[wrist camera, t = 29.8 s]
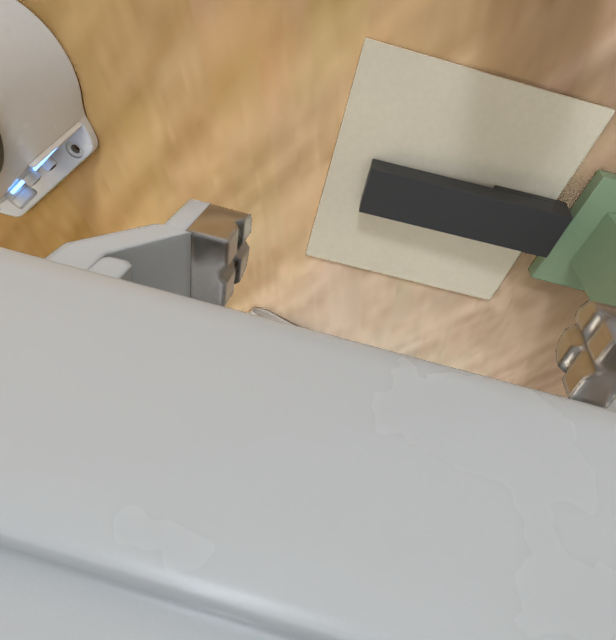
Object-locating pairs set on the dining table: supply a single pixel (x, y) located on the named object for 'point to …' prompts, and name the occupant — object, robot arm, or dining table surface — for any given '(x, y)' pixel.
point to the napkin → (444, 160)
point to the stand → (586, 244)
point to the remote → (465, 208)
